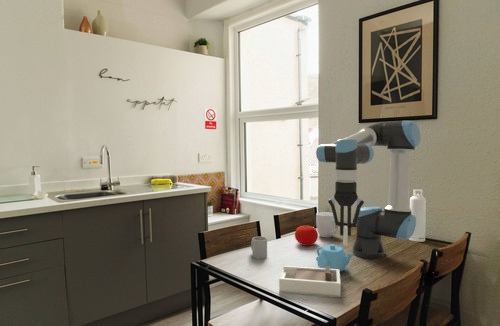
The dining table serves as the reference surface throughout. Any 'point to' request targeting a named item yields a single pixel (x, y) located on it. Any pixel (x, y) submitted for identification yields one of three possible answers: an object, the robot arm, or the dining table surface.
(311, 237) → the tomato
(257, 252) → the cup
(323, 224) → the mug
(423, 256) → the dining table surface
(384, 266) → the dining table surface
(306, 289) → the lid box
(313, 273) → the cover plate
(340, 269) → the teapot
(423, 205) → the bottle
